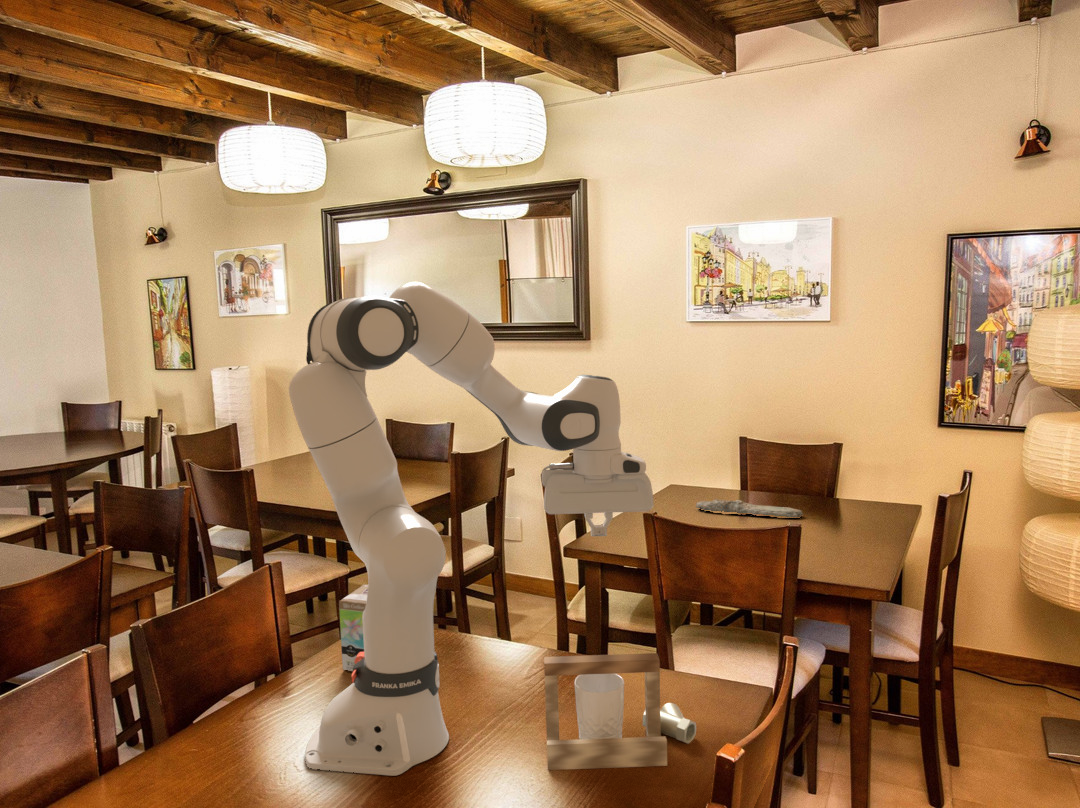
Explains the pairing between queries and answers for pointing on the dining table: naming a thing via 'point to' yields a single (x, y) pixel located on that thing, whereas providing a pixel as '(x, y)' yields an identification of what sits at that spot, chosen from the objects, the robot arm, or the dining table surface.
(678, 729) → the pipe fitting
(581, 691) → the white cup
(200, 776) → the dining table surface
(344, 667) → the tea box
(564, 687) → the dining table surface
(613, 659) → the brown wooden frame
